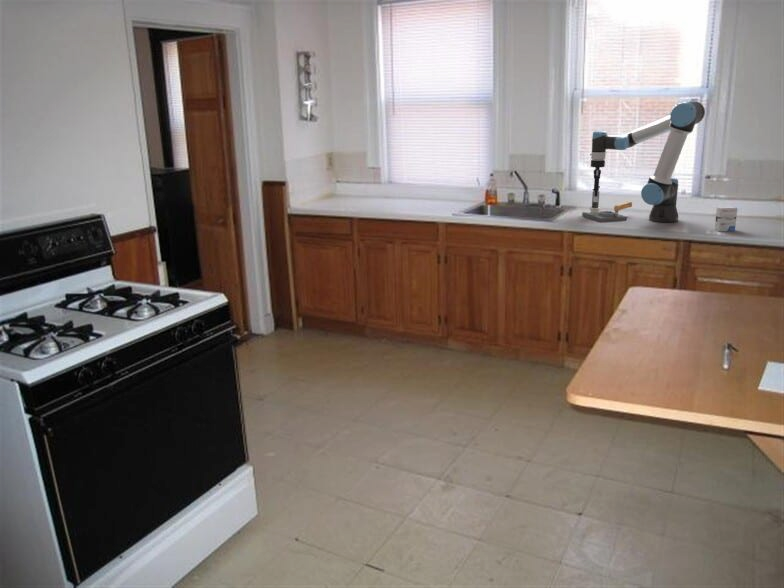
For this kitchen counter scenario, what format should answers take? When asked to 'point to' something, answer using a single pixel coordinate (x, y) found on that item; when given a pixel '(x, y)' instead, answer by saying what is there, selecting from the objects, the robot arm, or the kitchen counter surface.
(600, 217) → the socket board
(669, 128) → the robot arm
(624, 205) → the clip
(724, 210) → the ink box
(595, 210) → the plug
